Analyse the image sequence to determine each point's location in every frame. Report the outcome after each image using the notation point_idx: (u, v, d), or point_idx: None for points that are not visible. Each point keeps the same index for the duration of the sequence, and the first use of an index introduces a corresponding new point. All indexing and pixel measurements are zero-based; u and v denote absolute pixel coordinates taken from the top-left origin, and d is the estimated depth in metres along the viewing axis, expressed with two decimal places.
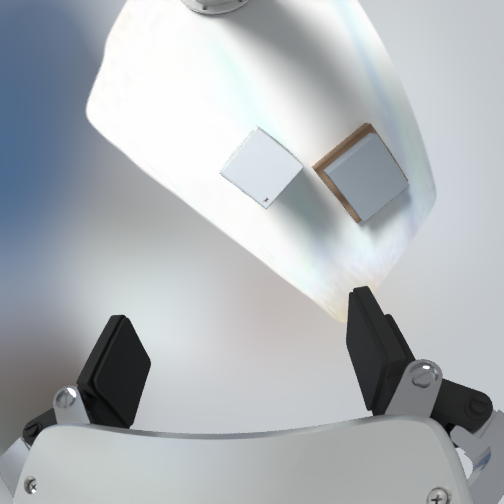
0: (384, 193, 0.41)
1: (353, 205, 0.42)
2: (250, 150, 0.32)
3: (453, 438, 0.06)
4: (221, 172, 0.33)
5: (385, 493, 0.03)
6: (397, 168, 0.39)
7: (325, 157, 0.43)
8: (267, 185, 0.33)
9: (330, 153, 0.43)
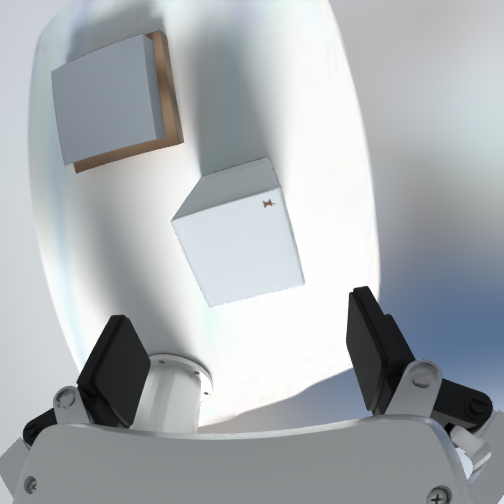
0: (88, 70, 0.18)
1: (143, 68, 0.19)
2: (239, 288, 0.20)
3: (453, 438, 0.06)
4: (301, 284, 0.20)
5: (385, 493, 0.03)
6: (56, 102, 0.19)
7: None
8: (248, 225, 0.18)
9: None
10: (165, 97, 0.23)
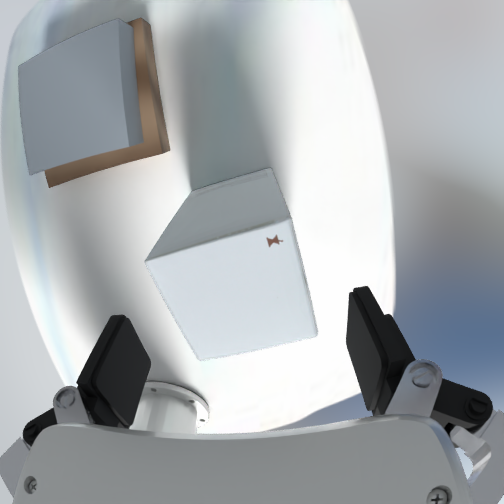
0: (56, 63, 0.14)
1: (117, 60, 0.14)
2: (235, 343, 0.15)
3: (453, 438, 0.06)
4: (313, 337, 0.15)
5: (385, 493, 0.03)
6: (21, 102, 0.15)
7: None
8: (246, 269, 0.13)
9: None
10: (146, 96, 0.18)
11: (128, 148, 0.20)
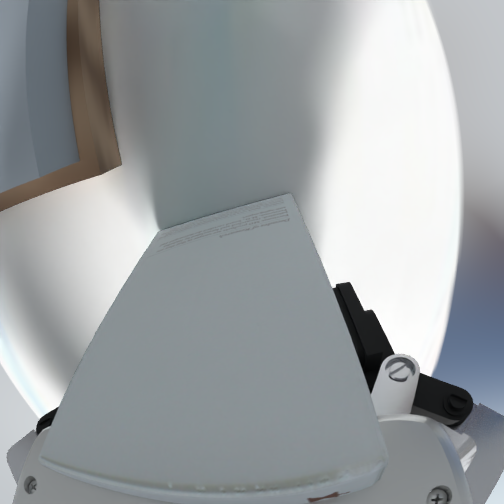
0: None
1: (23, 25, 0.05)
2: None
3: None
4: None
5: (385, 493, 0.03)
6: None
7: None
8: None
9: None
10: (74, 77, 0.09)
11: None
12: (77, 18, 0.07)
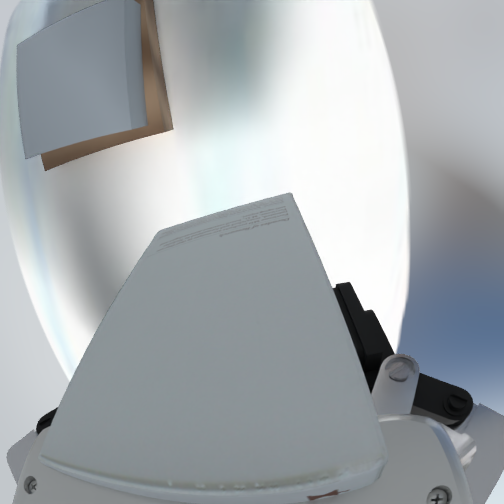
0: (56, 41, 0.12)
1: (121, 37, 0.12)
2: None
3: None
4: None
5: (385, 493, 0.03)
6: (19, 82, 0.13)
7: None
8: None
9: None
10: (148, 72, 0.16)
11: None
12: (147, 33, 0.15)
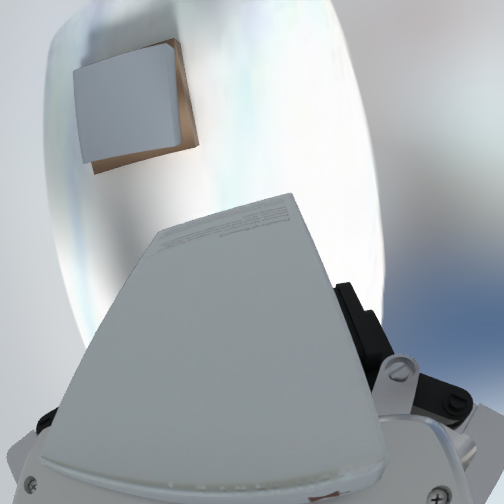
0: (111, 73, 0.20)
1: (166, 78, 0.21)
2: None
3: None
4: None
5: (385, 493, 0.03)
6: (77, 102, 0.21)
7: None
8: None
9: None
10: (181, 102, 0.25)
11: None
12: (180, 73, 0.23)
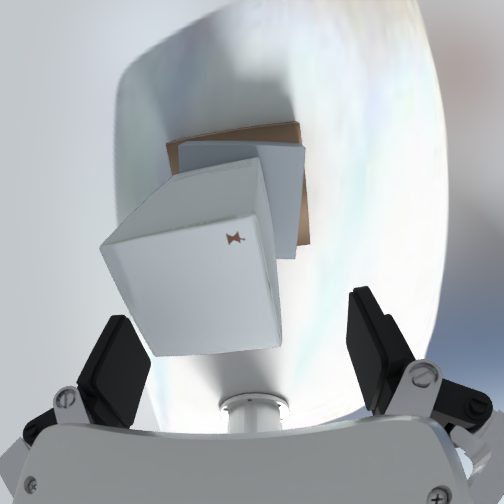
0: None
1: (299, 189, 0.23)
2: (191, 343, 0.14)
3: (453, 438, 0.06)
4: (276, 346, 0.14)
5: (385, 493, 0.03)
6: None
7: None
8: (203, 267, 0.12)
9: None
10: (302, 199, 0.27)
11: None
12: None
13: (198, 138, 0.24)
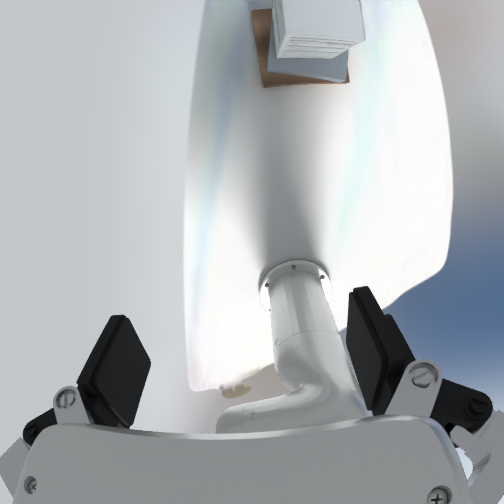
0: None
1: None
2: (315, 24, 0.18)
3: (453, 438, 0.06)
4: (362, 39, 0.18)
5: (385, 493, 0.03)
6: None
7: (328, 83, 0.34)
8: None
9: (321, 83, 0.34)
10: None
11: None
12: None
13: None
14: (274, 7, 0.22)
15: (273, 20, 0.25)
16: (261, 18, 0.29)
